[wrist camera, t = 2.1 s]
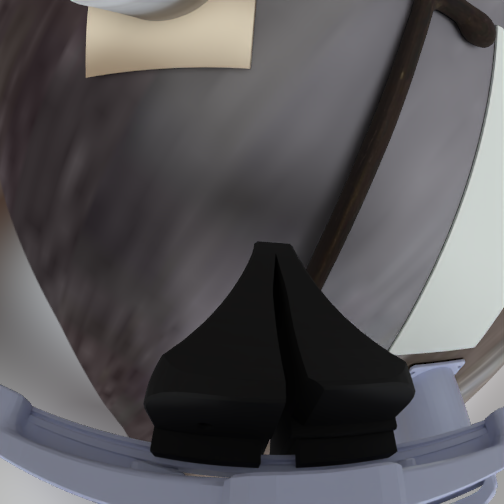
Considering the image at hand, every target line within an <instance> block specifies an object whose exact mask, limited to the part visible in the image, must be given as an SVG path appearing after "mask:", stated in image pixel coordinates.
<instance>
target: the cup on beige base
mask: <svg viewBox="0 0 504 504" xmlns="http://www.w3.org/2000/svg"><path fill="white" fill-rule="evenodd" d="M71 1H72V2H75V3H77V4H81V5H85V6H88V17H87V34H86V78H87V77H92V76H99V75H105V74H112V73H120V72H128V71H138V70H149V69H163V68H186V67H224V68H248V69H251V60H252V47H253V35H254V23H255V11H256V0H71Z"/></svg>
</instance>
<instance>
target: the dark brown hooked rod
mask: <svg viewBox="0 0 504 504" xmlns="http://www.w3.org/2000/svg"><path fill="white" fill-rule="evenodd" d="M434 10H439V11H441V12H442V13H444V14H446V15H447V16H449V17H450V18H451V19H453V20H454V21H455V22H456V23H457V25H458V27H459V29H460V31H461V33H462V35H463V36H464V37H465V38H466V40H467V41H468V42H470V43H472V44H473V45H475V46H478V47H482V48H486V47H489V46H490V45H492V44H493V43H494V41H495V38H496V29H495V25H494V23H493V22H492V20H491V19H490V18H489V17H488V16H487V15H486V14H485V13H483V12H482V11H480V10H479V9H477V8H476V7H474V6H473V5H471V4H470V3H468V2H467V1H466V0H414V3H413V7H412V11H411V14H410V17H409V20H408V23H407V26H406V29H405V32H404V35H403V38H402V41H401V44H400V47H399V50H398V53H397V56H396V58H395V61H394V64H393V67H392V70H391V73H390V76H389V78H388V81H387V84H386V86H385V89H384V92H383V94H382V97H381V99H380V101H379V105H378V107H377V110H376V112H375V115H374V117H373V120H372V122H371V125H370V127H369V129H368V132H367V134H366V136H365V139H364V141H363V144H362V146H361V148H360V151H359V153H358V156H357V158H356V160H355V163H354V165H353V167H352V170H351V172H350V174H349V177H348V179H347V181H346V183H345V186H344V188H343V190H342V193H341V195H340V197H339V199H338V202H337V204H336V206H335V209H334V211H333V213H332V215H331V218H330V220H329V222H328V224H327V226H326V228H325V231H324V233H323V235H322V237H321V239H320V241H319V243H318V245H317V247H316V249H315V252H314V254H313V256H312V258H311V260H310V263H309V265H308V267H307V269H306V271H307V272H308V274H309V275H310V276H311V278H312V279H313V281H314V282H315V284H316V285H317V286H318V288H319V289H320V290H321V289H322V287H323V285H324V283H325V281H326V279H327V277H328V275H329V273H330V271H331V269H332V267H333V265H334V263H335V261H336V259H337V257H338V255H339V253H340V251H341V249H342V247H343V245H344V243H345V241H346V238H347V236H348V234H349V232H350V230H351V228H352V226H353V223H354V221H355V219H356V217H357V215H358V213H359V210H360V208H361V206H362V204H363V201H364V199H365V197H366V195H367V192H368V190H369V188H370V186H371V183H372V181H373V179H374V176H375V174H376V172H377V169H378V167H379V165H380V162H381V160H382V158H383V155H384V153H385V151H386V148H387V146H388V143H389V141H390V139H391V136H392V134H393V131H394V128H395V126H396V123H397V120H398V118H399V115H400V112H401V110H402V107H403V104H404V101H405V98H406V95H407V93H408V90H409V87H410V84H411V81H412V78H413V75H414V72H415V69H416V66H417V63H418V60H419V56H420V53H421V50H422V47H423V44H424V41H425V38H426V35H427V31H428V28H429V24H430V21H431V17H432V14H433V11H434Z"/></svg>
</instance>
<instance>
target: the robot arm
mask: <svg viewBox="0 0 504 504" xmlns="http://www.w3.org/2000/svg"><path fill="white" fill-rule="evenodd" d="M464 364H465V360H464V359H461V360H454V361H446V362H438V363H430V364H420V365H414V366H412V367H411V368H410V369H408V367H407V364H406V362H405V361H403V360H402V359H400V358H398V357H397V356H395V355H394V354H392V353H390V352H389V351H387V350H386V349H384V348H382V347H381V346H380V345H378V344H377V343H375V342H374V341H373V340H371V339H370V338H369V337H367V336H366V335H365V334H364V333H362V332H361V331H360V330H359V329H358V328H356V327H355V326H354V325H353V324H352V323H351V322H350V321H348V320H347V319H346V318H345V317H344V316H343V315H342V314H341V313H340V312H339V311H338V310H337V309H336V308H335V307H334V306H333V305H332V303H331V302H330V301H329V300H328V299H327V298H326V296H325V295H324V294H323V293H322V291H321V290H320V289H319V288H318V286H317V285H316V284H315V282H314V281H313V279H312V278H311V276H310V275H309V274H308V272H307V271H306V269H305V268H304V266H303V264H302V263H301V261H300V260H299V258H298V256H297V255H296V253H295V251H294V249H293V247H292V246H291V245H290V244H283V243H270V242H256V243H255V244H254V249H253V252H252V255H251V258H250V260H249V262H248V264H247V266H246V268H245V270H244V272H243V274H242V275H241V277H240V278H239V280H238V282H237V283H236V285H235V286H234V288H233V289H232V291H231V292H230V293H229V295H228V296H227V297H226V299H225V300H224V301H223V302H222V304H221V305H220V306H219V307H218V308H217V309H216V310H215V311H214V313H213V314H212V315H211V316H210V317H209V318H208V319H207V320H206V321H205V322H204V323H203V324H202V325H201V326H199V327H198V328H197V329H196V330H195V331H194V332H193V333H191V334H190V335H189V336H188V337H187V338H185V339H184V340H183V341H182V342H180V343H179V344H177V345H176V346H175V347H173V348H172V349H170V350H169V351H168V352H166V353H165V354H163V355H162V357H161V358H160V360H159V362H158V364H157V365H156V367H155V369H154V371H153V374H152V376H151V378H150V381H149V384H148V387H147V391H146V395H145V399H144V408H145V410H146V412H147V414H148V416H149V417H150V419H151V421H152V423H153V425H154V431H153V436H152V441H151V442H147V441H142V440H137V439H133V438H129V437H124V436H120V435H116V434H113V433H109V432H105V431H102V430H98V429H94V428H91V427H88V426H85V425H82V424H79V423H76V422H73V421H70V420H67V419H64V418H61V417H58V416H56V415H53V414H50V413H48V412H45V411H43V410H40V409H38V408H35V407H33V406H32V405H31V403H30V402H29V401H28V400H27V399H26V398H25V397H24V396H22V395H21V394H19V393H18V392H16V391H13V390H11V389H9V388H7V387H5V386H3V385H0V457H1V458H2V459H4V460H5V461H7V462H9V463H10V464H12V465H14V466H16V467H17V468H19V469H21V470H23V471H25V472H27V473H28V474H31V475H32V476H34V477H36V478H38V479H40V480H43V481H45V482H47V483H49V484H51V485H53V486H55V487H57V488H60V489H62V490H64V491H67V492H69V493H71V494H74V495H77V496H79V497H82V498H84V499H87V500H90V501H92V502H95V503H98V504H440V503H442V502H445V501H448V500H450V499H453V498H455V497H458V496H460V495H462V494H465V493H467V492H469V491H471V490H473V489H476V488H478V487H480V486H482V485H483V486H482V487H481V488H480V489H479V491H477V492H475V493H474V494H472V495H470V496H468V497H465V498H463V499H461V500H458V501H456V502H454V503H451V504H488V503H489V502H490V501H491V499H492V498H493V496H494V495H495V493H496V488H497V487H498V485H497V480H496V473H497V472H499V471H501V470H503V469H504V407H502V408H499V409H497V410H496V411H494V412H493V413H491V414H490V415H489V416H488V417H487V418H485V420H483V421H481V422H478V423H475V424H472V425H471V423H470V419H469V416H468V413H467V410H466V407H465V404H464V401H463V398H462V396H461V393H460V390H459V387H458V384H457V382H456V379H455V376H454V375H455V374H456V373H457V372H458V371H459V370H460V368H461V367H462V366H463V365H464ZM269 439H271V440H270V455H263V454H264V451H265V449H266V447H267V444H268V442H269ZM183 472H185V473H192V474H199V475H208V476H218V477H230V478H217V477H197V476H185V474H184V473H183Z"/></svg>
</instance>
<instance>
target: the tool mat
mask: <svg viewBox="0 0 504 504" xmlns="http://www.w3.org/2000/svg"><path fill="white" fill-rule="evenodd" d="M503 307H504V29H502V28H501V27H499V26H498V25H496V38H495V51H494V61H493V70H492V78H491V85H490V91H489V97H488V103H487V108H486V113H485V118H484V123H483V127H482V132H481V136H480V140H479V144H478V148H477V151H476V155H475V159H474V162H473V166H472V169H471V172H470V176H469V179H468V182H467V185H466V188H465V191H464V194H463V197H462V200H461V203H460V205H459V208H458V211H457V213H456V216H455V219H454V221H453V224H452V226H451V229H450V231H449V234H448V236H447V239H446V241H445V243H444V246H443V248H442V250H441V253H440V255H439V257H438V259H437V262H436V264H435V266H434V268H433V270H432V272H431V274H430V276H429V278H428V280H427V282H426V284H425V286H424V288H423V290H422V292H421V294H420V296H419V298H418V300H417V302H416V304H415V306H414V308H413V309H412V311H411V313H410V315H409V317H408V318H407V320H406V322H405V324H404V325H403V327H402V329H401V331H400V332H399V334H398V336H397V337H396V339H395V341H394V342H393V344H392V345H391V347H390V349H389V350H388V351H389V352H390V353H392V354H394V355H405V354H419V353H430V352H441V351H450V350H458V349H466V348H474V347H475V346H476V345H477V344H478V342H479V341H480V340H481V339H482V337H483V336H484V335H485V333H486V332H487V330H488V329H489V328H490V326H491V325H492V323H493V322H494V321H495V319H496V318H497V316H498V315H499V313H500V312H501V310H502V309H503Z"/></svg>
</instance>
